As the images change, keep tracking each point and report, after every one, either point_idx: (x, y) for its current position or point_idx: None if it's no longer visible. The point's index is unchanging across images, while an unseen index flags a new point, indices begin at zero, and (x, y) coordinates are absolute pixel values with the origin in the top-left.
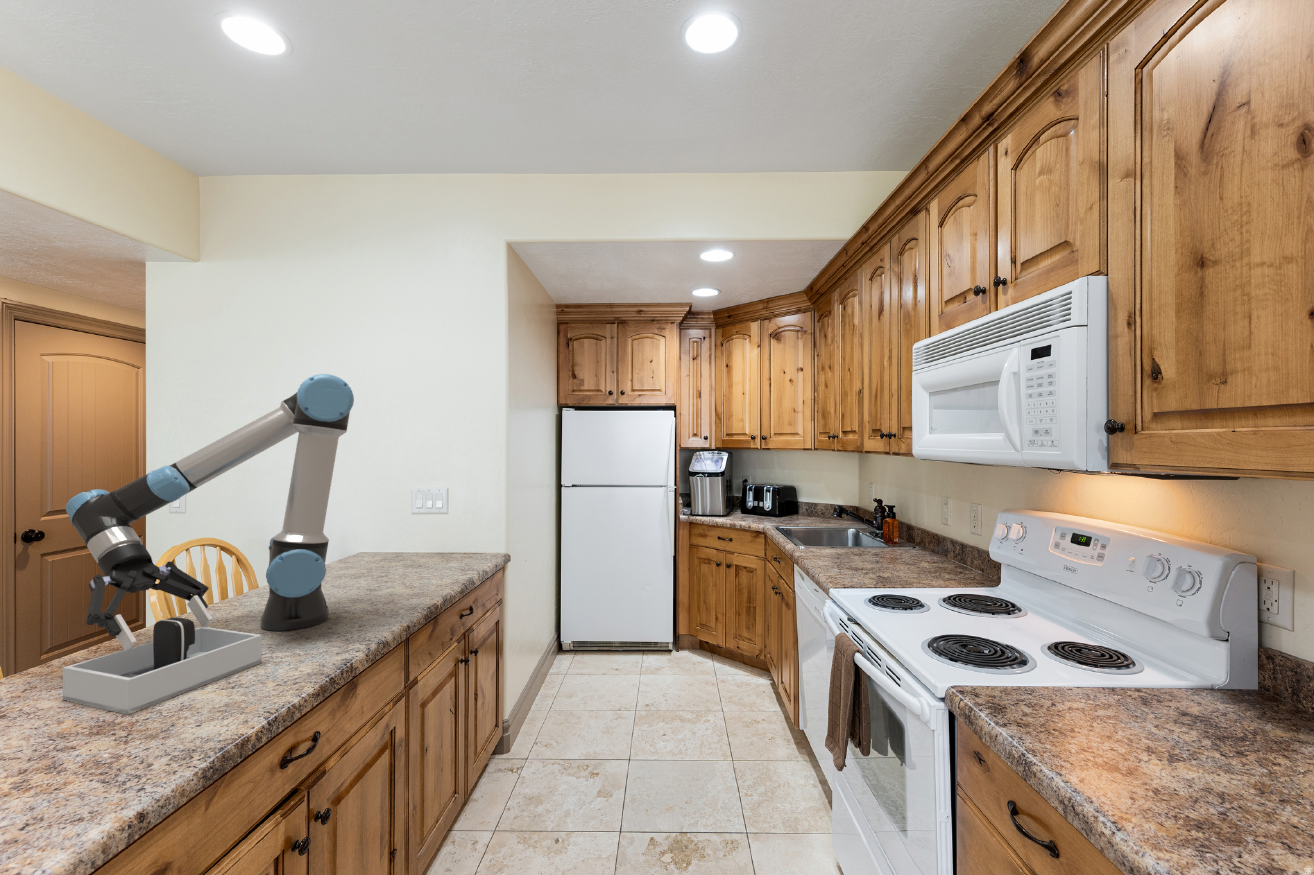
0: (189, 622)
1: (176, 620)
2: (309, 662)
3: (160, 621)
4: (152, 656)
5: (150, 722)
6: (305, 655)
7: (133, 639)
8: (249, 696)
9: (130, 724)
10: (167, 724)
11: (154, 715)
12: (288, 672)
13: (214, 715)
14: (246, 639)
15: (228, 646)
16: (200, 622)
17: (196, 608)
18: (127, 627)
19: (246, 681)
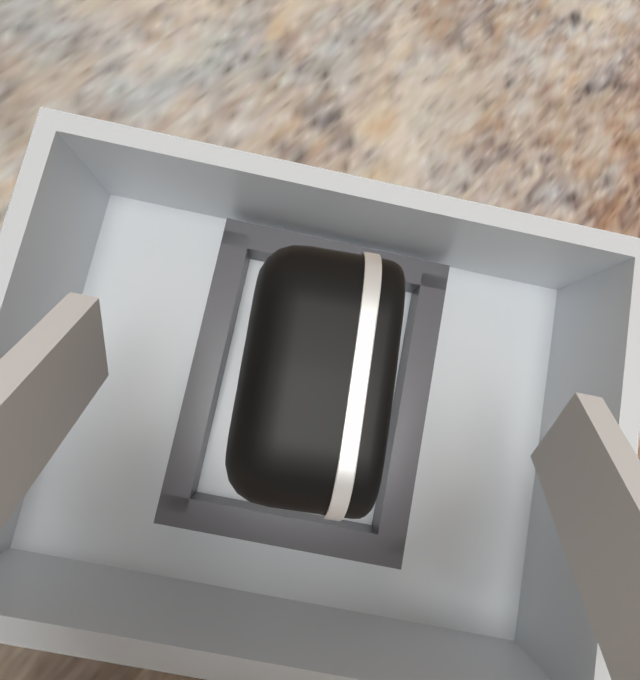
0: (307, 250)
1: (344, 328)
2: (87, 6)
3: (377, 454)
4: (217, 612)
5: (588, 167)
6: (10, 67)
7: (594, 407)
8: (389, 14)
9: (610, 215)
10: (587, 108)
11: (550, 197)
12: (189, 20)
13: (517, 22)
14: (117, 133)
15: (225, 148)
16: (87, 393)
17: (9, 450)
18: (637, 501)
19: (280, 110)
